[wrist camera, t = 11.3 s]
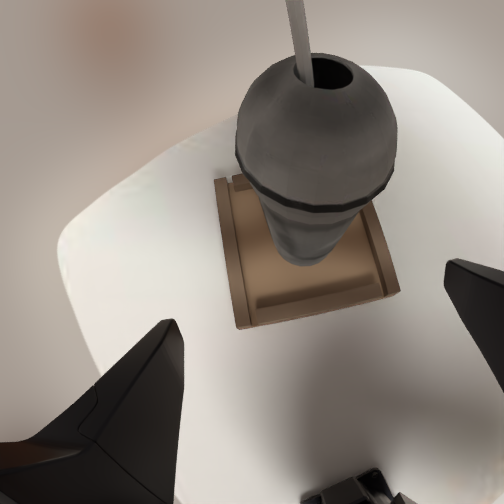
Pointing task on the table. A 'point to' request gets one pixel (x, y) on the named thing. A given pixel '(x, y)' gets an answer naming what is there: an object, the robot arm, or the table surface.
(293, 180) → the beverage cup
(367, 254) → the walnut tray
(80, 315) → the table surface
